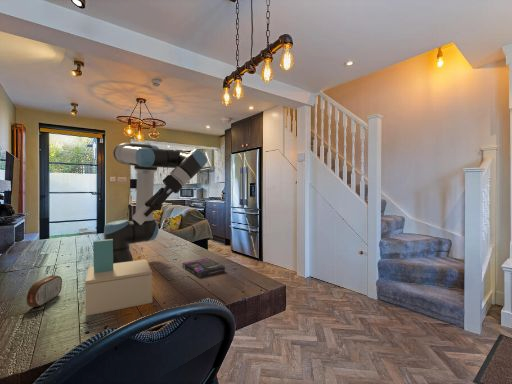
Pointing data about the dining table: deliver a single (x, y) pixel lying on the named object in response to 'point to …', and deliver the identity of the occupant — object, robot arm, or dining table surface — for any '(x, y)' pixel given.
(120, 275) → the flap
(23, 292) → the dining table surface
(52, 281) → the tin
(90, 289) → the carton
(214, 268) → the box
